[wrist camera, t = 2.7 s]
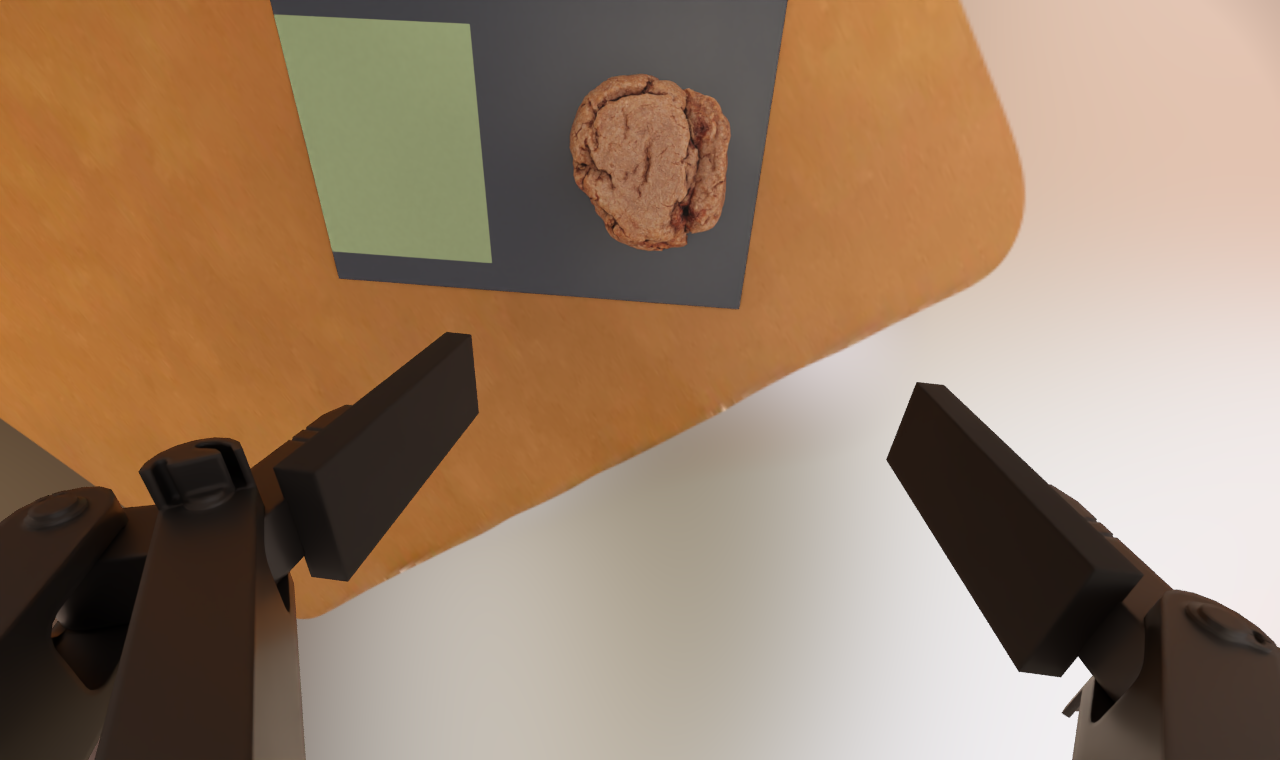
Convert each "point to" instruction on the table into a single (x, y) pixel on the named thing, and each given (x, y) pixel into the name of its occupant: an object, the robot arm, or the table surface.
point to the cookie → (651, 159)
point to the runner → (515, 136)
